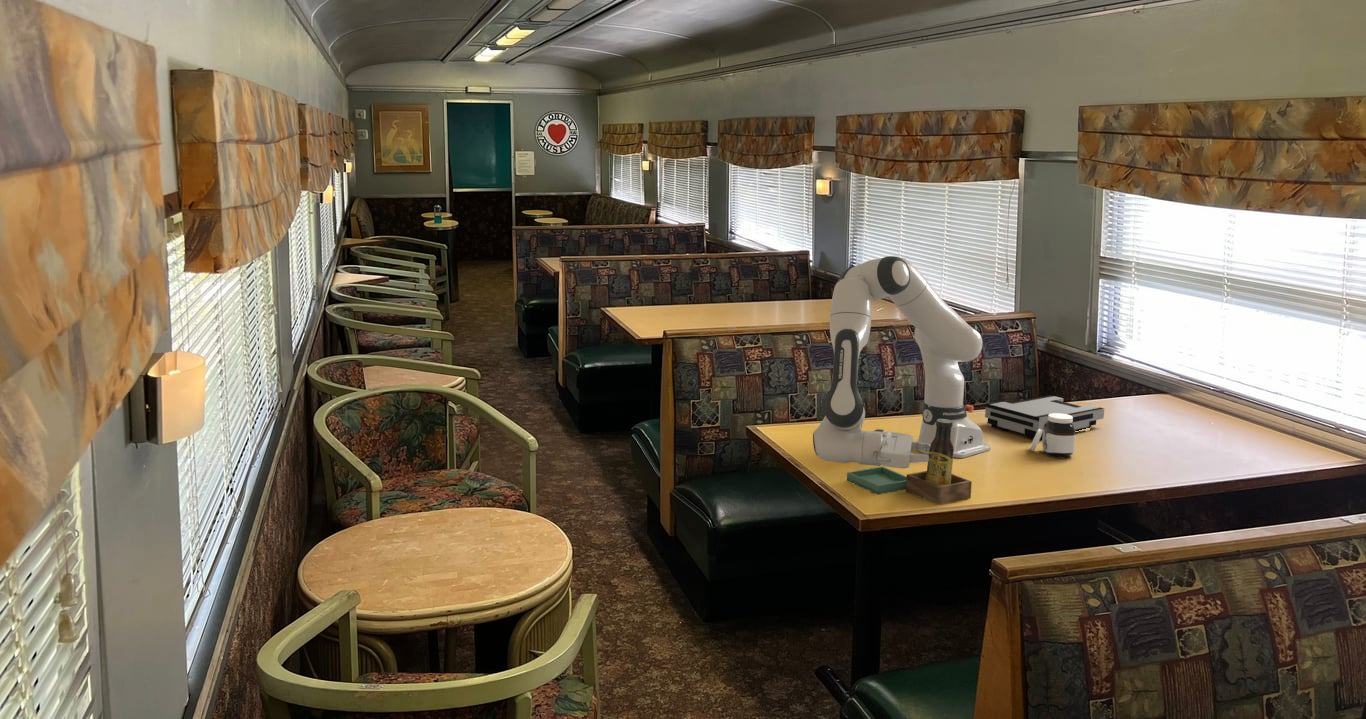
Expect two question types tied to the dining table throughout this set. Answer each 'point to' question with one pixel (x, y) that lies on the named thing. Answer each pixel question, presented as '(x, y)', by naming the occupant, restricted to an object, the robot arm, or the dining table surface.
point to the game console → (1038, 414)
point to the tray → (878, 480)
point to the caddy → (938, 488)
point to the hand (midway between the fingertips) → (929, 452)
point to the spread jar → (1056, 436)
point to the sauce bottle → (941, 455)
